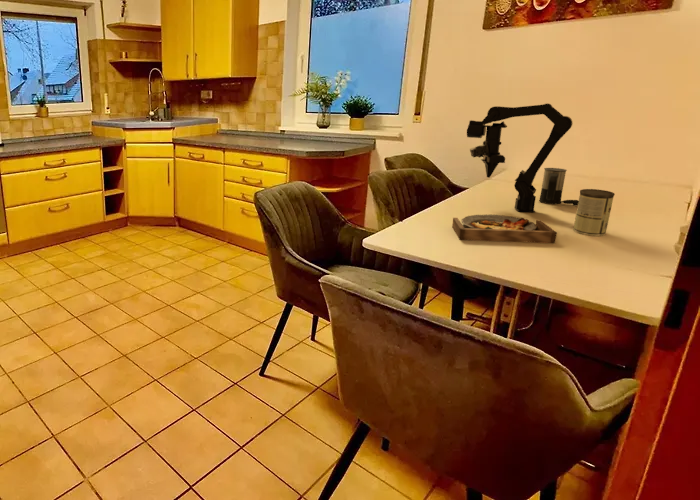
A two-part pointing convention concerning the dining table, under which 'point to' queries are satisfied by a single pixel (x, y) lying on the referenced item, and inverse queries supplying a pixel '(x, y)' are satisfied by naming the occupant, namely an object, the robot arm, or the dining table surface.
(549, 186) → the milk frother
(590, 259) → the dining table surface
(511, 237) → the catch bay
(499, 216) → the food plate
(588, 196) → the coffee can
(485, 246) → the dining table surface
